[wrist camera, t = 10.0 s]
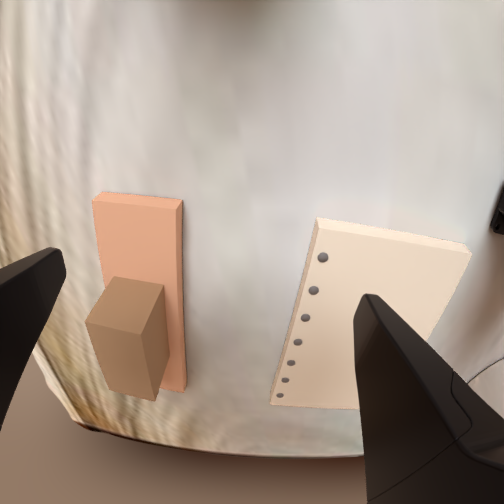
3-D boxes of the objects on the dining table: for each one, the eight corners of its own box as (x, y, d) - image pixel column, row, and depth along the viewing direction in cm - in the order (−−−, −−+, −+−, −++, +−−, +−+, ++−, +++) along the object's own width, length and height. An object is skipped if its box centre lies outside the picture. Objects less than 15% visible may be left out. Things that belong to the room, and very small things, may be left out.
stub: (182, 199, 20) (147, 253, 15) (186, 381, 31) (173, 434, 25) (102, 191, 20) (50, 237, 15) (133, 369, 31) (114, 419, 25)
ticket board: (463, 243, 20) (473, 255, 19) (376, 397, 31) (378, 409, 30) (316, 217, 20) (319, 228, 19) (270, 392, 31) (269, 405, 30)
